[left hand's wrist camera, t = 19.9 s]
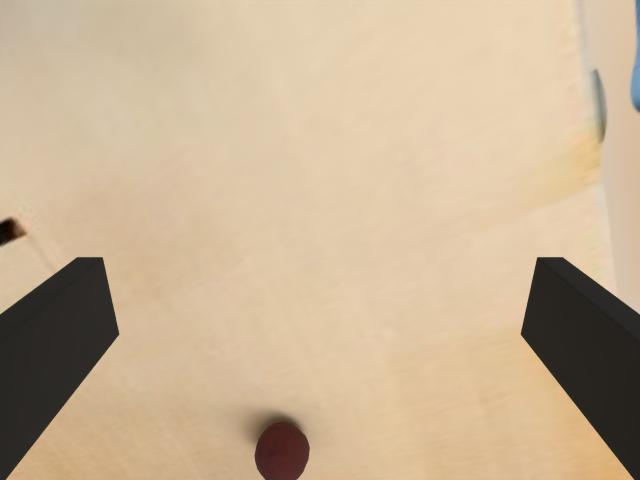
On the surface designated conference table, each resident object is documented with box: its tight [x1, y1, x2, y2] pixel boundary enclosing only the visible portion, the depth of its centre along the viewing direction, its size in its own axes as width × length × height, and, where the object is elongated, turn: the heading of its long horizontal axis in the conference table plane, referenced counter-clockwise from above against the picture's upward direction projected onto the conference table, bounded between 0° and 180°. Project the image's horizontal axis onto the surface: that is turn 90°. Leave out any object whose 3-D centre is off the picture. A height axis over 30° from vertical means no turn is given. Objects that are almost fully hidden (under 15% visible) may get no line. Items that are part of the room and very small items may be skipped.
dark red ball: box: [255, 423, 310, 480], centre depth 56 cm, size 7×8×7 cm
